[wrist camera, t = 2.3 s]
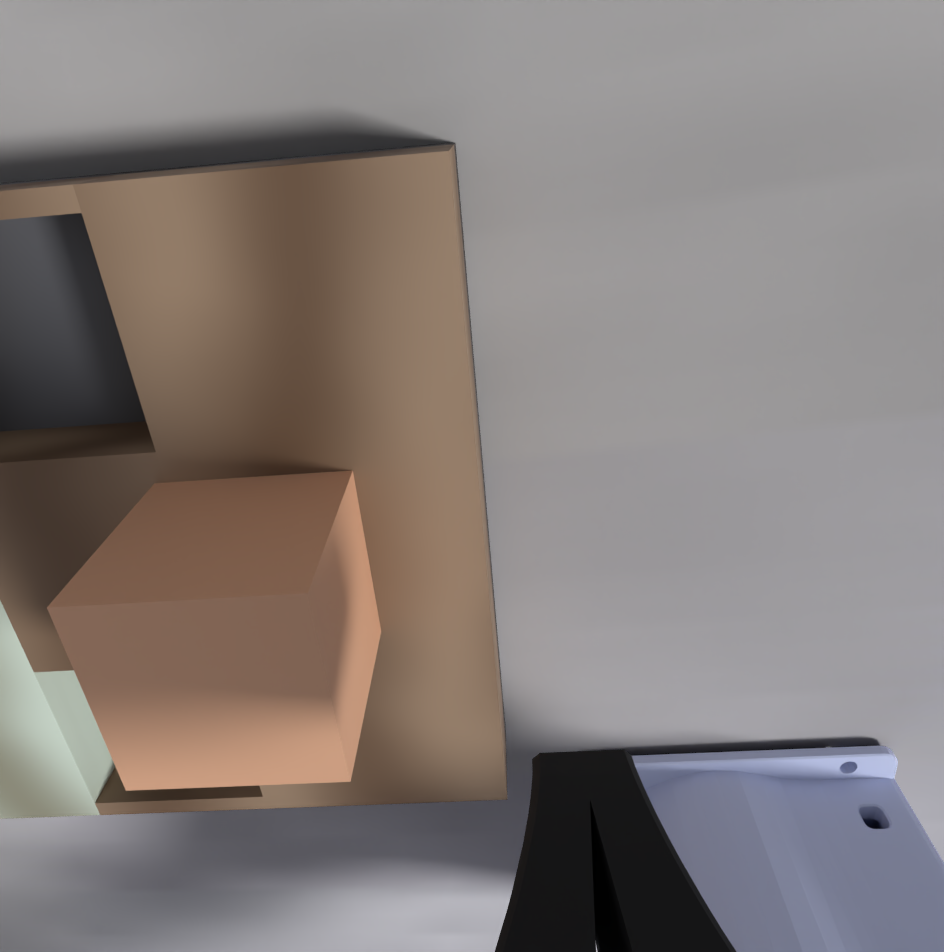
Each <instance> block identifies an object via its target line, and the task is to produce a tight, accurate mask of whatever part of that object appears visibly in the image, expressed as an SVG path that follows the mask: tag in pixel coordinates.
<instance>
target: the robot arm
mask: <svg viewBox="0 0 944 952" xmlns="http://www.w3.org/2000/svg"><path fill="white" fill-rule="evenodd" d="M845 762H846V763H845ZM532 764H533V776H532V790H531V800H530V807H529V814H528V820H527V826H526V831H525V837H524V842H523V847H522V851H521V856H520V860H519V864H518V869H517V873H516V877H515V881H514V886H513V890H512V894H511V898H510V902H509V906H508V909H507V913H506V916H505V919H504V923H503V926H502V929H501V933H500V936H499V940H498V943H497V946H496V950H495V952H596V945H597V950H598V952H944V862H943V860H942V859H941V857H940V855H939V854H938V852H937V850H936V848H935V847H934V845H933V843H932V842H931V840H930V838H929V837H928V835H927V833H926V832H925V830H924V828H923V826H922V825H921V823H920V821H919V820H918V818H917V816H916V815H915V813H914V811H913V809H912V808H911V806H910V804H909V803H908V801H907V799H906V798H905V796H904V794H903V793H902V791H901V789H900V787H899V786H898V784H897V782H896V781H895V779H894V777H895V773H896V769H897V766H898V760H897V758H896V756H895V755H894V753H893V752H892V750H891V749H890V748H888V747H886V746H857V747H832V748H808V749H783V750H759V751H735V752H710V753H686V754H661V755H637V756H631V755H630V754H629V753H628V752H626V751H625V750H602V751H578V752H554V753H539V754H538V755H537V756H536V757H534V758H533V759H532ZM595 940H596V942H595Z"/></svg>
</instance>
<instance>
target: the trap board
mask: <svg viewBox="0 0 944 952" xmlns="http://www.w3.org/2000/svg"><path fill="white" fill-rule="evenodd" d="M351 470H353V475H354V480H355V486H356V492H357V497H358V503H359V509H360V514H361V520H362V526H363V531H364V537H365V542H366V548H367V554H368V559H369V565H370V571H371V576H372V582H373V588H374V593H375V599H376V605H377V610H378V616H379V622H380V627H381V635H380V640H379V645H378V650H377V655H376V660H375V665H374V669H373V674H372V679H371V684H370V689H369V694H368V699H367V704H366V709H365V714H364V719H363V723H362V728H361V733H360V738H359V743H358V748H357V753H356V758H355V763H354V768H353V772H352V777H351V782H332V783H307V784H282V785H256V786H231V787H206V788H181V789H156V790H131V791H126V790H125V787H124V785H123V783H122V781H121V778H120V776H119V774H118V771H117V769H116V767H115V764H114V762H113V760H112V757H111V755H110V753H109V750H108V748H107V746H106V743H105V741H104V739H103V737H102V734H101V732H100V730H99V727H98V725H97V723H96V720H95V718H94V716H93V713H92V711H91V709H90V706H89V704H88V702H87V700H86V697H85V695H84V693H83V690H82V688H81V686H80V683H79V681H78V679H77V676H76V674H75V672H74V669H73V667H72V665H71V663H70V660H69V658H68V656H67V653H66V651H65V649H64V646H63V644H62V642H61V639H60V637H59V635H58V632H57V630H56V628H55V626H54V623H53V621H52V619H51V616H50V614H49V612H48V609H47V607H48V606H49V605H50V603H51V602H52V601H53V600H54V599H55V598H56V596H57V595H58V594H59V593H60V592H61V591H62V589H63V588H64V587H65V586H66V585H67V584H68V583H69V581H70V580H71V579H72V578H73V577H74V576H75V574H76V573H77V572H78V571H79V570H80V569H81V568H82V566H83V565H84V564H85V563H86V562H87V561H88V559H89V558H90V557H91V556H92V555H93V554H94V553H95V551H96V550H97V549H98V548H99V547H100V546H101V544H102V543H103V542H104V541H105V540H106V539H107V537H108V536H109V535H110V534H111V533H112V532H113V531H114V529H115V528H116V527H117V526H118V525H119V524H120V522H121V521H122V520H123V519H124V518H125V517H126V516H127V514H128V513H129V512H130V511H131V510H132V509H133V507H134V506H135V505H136V504H137V503H138V502H139V501H140V499H141V498H142V497H143V496H144V495H145V494H146V492H147V491H148V490H149V489H150V488H151V487H152V485H153V484H154V483H166V482H181V481H197V480H212V479H228V478H243V477H258V476H274V475H289V474H305V473H320V472H336V471H351ZM482 800H507V766H506V730H505V718H504V706H503V695H502V683H501V671H500V660H499V648H498V636H497V625H496V613H495V601H494V590H493V578H492V566H491V554H490V543H489V531H488V519H487V508H486V496H485V484H484V473H483V461H482V449H481V438H480V426H479V414H478V403H477V391H476V379H475V368H474V356H473V344H472V333H471V321H470V309H469V298H468V286H467V274H466V263H465V251H464V239H463V227H462V216H461V204H460V192H459V181H458V169H457V157H456V146H455V143H446V144H435V145H424V146H413V147H402V148H391V149H380V150H369V151H358V152H347V153H336V154H324V155H313V156H302V157H291V158H280V159H269V160H258V161H247V162H236V163H225V164H214V165H203V166H192V167H181V168H169V169H158V170H147V171H136V172H125V173H114V174H103V175H92V176H81V177H70V178H59V179H48V180H37V181H26V182H14V183H3V184H0V819H7V818H33V817H60V816H86V815H112V814H139V813H165V812H192V811H218V810H244V809H271V808H297V807H324V806H350V805H377V804H403V803H429V802H456V801H482Z"/></svg>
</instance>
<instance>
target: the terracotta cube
mask: <svg viewBox="0 0 944 952" xmlns="http://www.w3.org/2000/svg"><path fill="white" fill-rule="evenodd" d="M47 609H48V612H49V614H50V616H51V619H52V621H53V623H54V626H55V628H56V630H57V632H58V635H59V637H60V639H61V642H62V644H63V646H64V649H65V651H66V653H67V656H68V658H69V660H70V663H71V665H72V667H73V669H74V672H75V674H76V676H77V679H78V681H79V683H80V686H81V688H82V690H83V693H84V695H85V697H86V700H87V702H88V704H89V706H90V709H91V711H92V713H93V716H94V718H95V720H96V723H97V725H98V727H99V730H100V732H101V734H102V737H103V739H104V741H105V743H106V746H107V748H108V750H109V753H110V755H111V757H112V760H113V762H114V764H115V767H116V769H117V771H118V774H119V776H120V778H121V781H122V783H123V785H124V787H125V790H126V791H131V790H156V789H181V788H206V787H231V786H256V785H282V784H307V783H332V782H351V777H352V772H353V768H354V763H355V758H356V753H357V748H358V743H359V738H360V733H361V728H362V723H363V719H364V714H365V709H366V704H367V699H368V694H369V689H370V684H371V679H372V674H373V669H374V665H375V660H376V655H377V650H378V645H379V640H380V635H381V627H380V622H379V616H378V610H377V605H376V599H375V593H374V588H373V582H372V576H371V571H370V565H369V559H368V554H367V548H366V542H365V537H364V531H363V526H362V520H361V514H360V509H359V503H358V497H357V492H356V486H355V480H354V475H353V470H351V471H336V472H320V473H305V474H289V475H274V476H258V477H243V478H228V479H212V480H197V481H181V482H166V483H154V484H153V485H152V487H151V488H150V489H149V490H148V491H147V492H146V494H145V495H144V496H143V497H142V498H141V499H140V501H139V502H138V503H137V504H136V505H135V506H134V507H133V509H132V510H131V511H130V512H129V513H128V514H127V516H126V517H125V518H124V519H123V520H122V521H121V522H120V524H119V525H118V526H117V527H116V528H115V529H114V531H113V532H112V533H111V534H110V535H109V536H108V537H107V539H106V540H105V541H104V542H103V543H102V544H101V546H100V547H99V548H98V549H97V550H96V551H95V553H94V554H93V555H92V556H91V557H90V558H89V559H88V561H87V562H86V563H85V564H84V565H83V566H82V568H81V569H80V570H79V571H78V572H77V573H76V574H75V576H74V577H73V578H72V579H71V580H70V581H69V583H68V584H67V585H66V586H65V587H64V588H63V589H62V591H61V592H60V593H59V594H58V595H57V596H56V598H55V599H54V600H53V601H52V602H51V603H50V605H49V606H48V607H47Z"/></svg>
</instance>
